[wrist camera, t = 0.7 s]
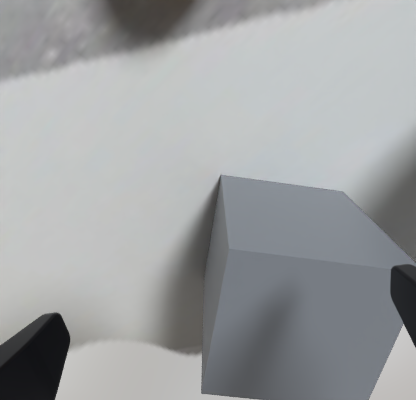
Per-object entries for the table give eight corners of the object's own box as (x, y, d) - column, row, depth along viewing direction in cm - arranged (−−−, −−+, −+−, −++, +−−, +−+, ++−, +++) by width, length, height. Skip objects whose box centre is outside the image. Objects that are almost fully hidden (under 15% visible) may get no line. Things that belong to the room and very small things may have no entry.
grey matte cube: (343, 191, 21) (426, 273, 13) (311, 292, 24) (363, 410, 16) (221, 174, 21) (229, 248, 13) (203, 279, 24) (201, 393, 16)
